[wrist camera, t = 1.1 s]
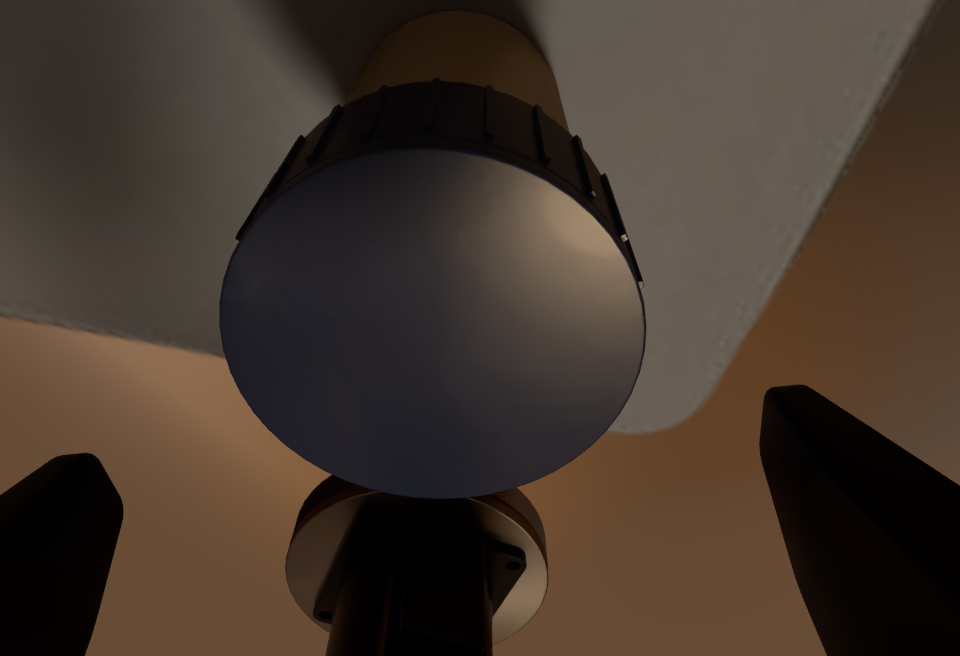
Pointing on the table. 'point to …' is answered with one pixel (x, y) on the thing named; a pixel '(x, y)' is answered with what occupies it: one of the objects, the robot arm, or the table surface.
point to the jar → (463, 59)
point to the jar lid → (435, 295)
